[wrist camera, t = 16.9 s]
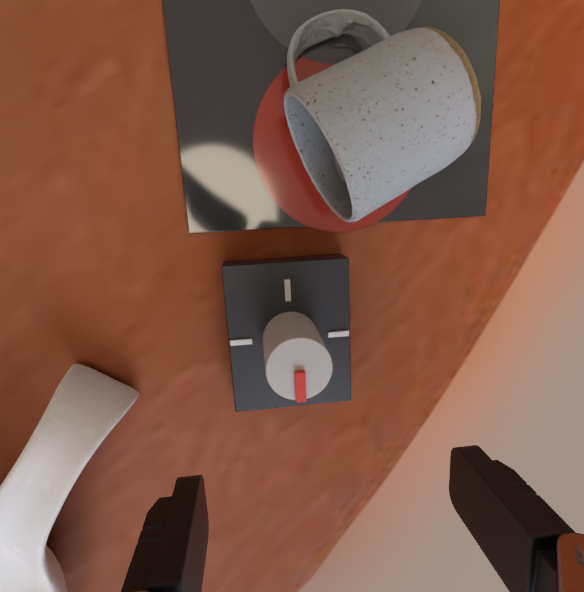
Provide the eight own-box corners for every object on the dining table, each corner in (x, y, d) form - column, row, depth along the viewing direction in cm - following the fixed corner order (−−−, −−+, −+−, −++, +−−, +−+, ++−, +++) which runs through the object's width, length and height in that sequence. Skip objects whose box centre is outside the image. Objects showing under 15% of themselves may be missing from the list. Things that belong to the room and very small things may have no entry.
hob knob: (260, 313, 25) (263, 342, 20) (316, 309, 25) (333, 336, 20) (264, 365, 26) (268, 406, 21) (318, 360, 26) (334, 399, 21)
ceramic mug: (441, 158, 25) (519, 138, 18) (333, 222, 26) (365, 228, 18) (368, -7, 23) (423, -111, 15) (249, 66, 23) (246, -3, 16)
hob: (144, -164, 20) (143, -169, 20) (507, -154, 22) (510, -159, 22) (190, 240, 25) (189, 241, 25) (482, 222, 27) (485, 223, 27)
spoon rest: (52, 641, 32) (-4, 764, 25) (-102, 595, 29) (-212, 718, 22) (185, 405, 28) (163, 472, 21) (22, 332, 26) (-63, 380, 19)
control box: (223, 261, 26) (221, 266, 24) (341, 253, 27) (349, 258, 24) (236, 397, 28) (235, 413, 26) (344, 387, 29) (351, 401, 27)
